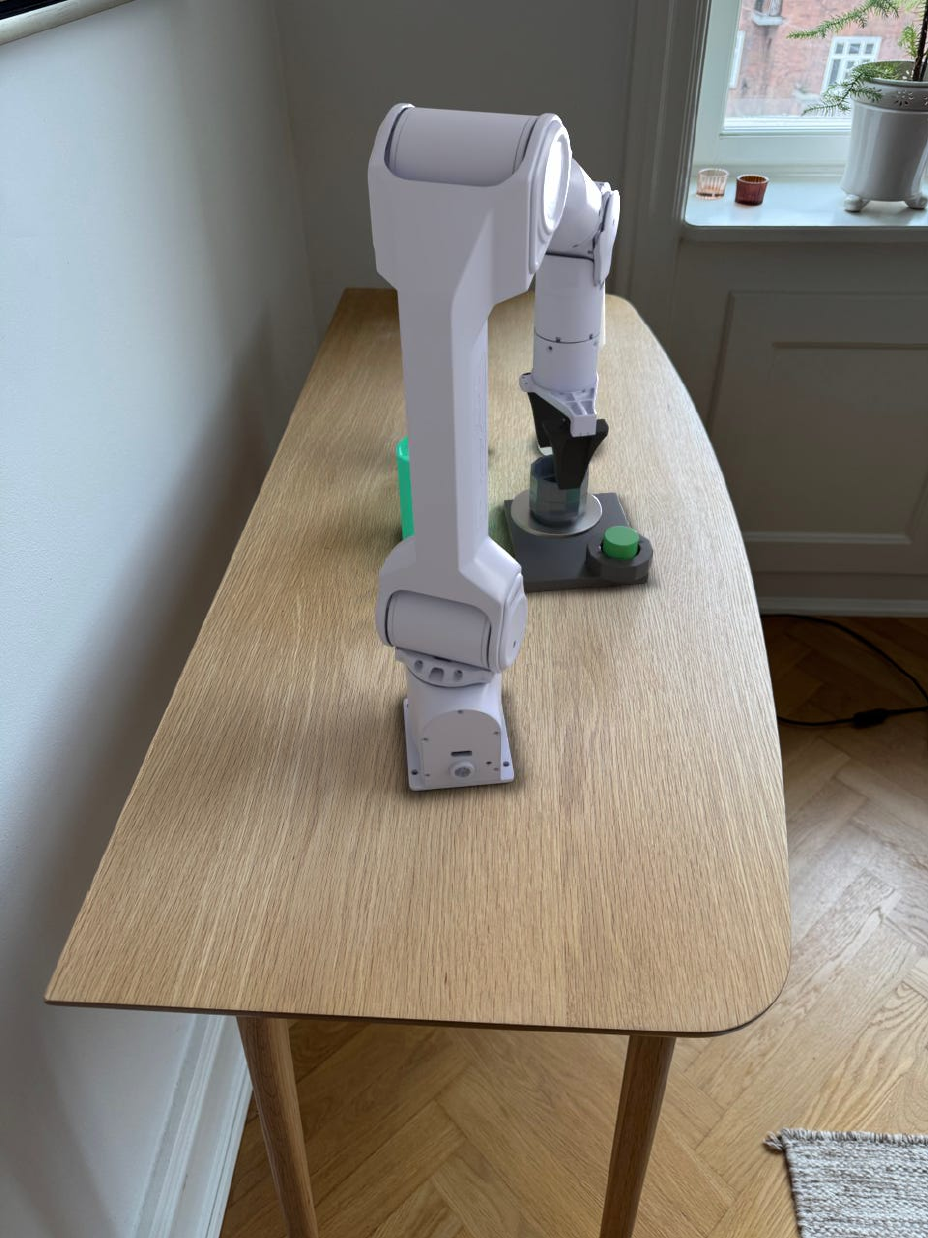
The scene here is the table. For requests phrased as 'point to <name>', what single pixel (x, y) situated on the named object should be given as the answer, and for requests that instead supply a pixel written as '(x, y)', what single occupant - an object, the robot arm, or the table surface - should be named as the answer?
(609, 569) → the scale
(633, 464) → the table surface
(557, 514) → the faceted grey cup
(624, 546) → the tare button
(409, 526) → the candle
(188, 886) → the table surface
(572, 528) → the scale pan
